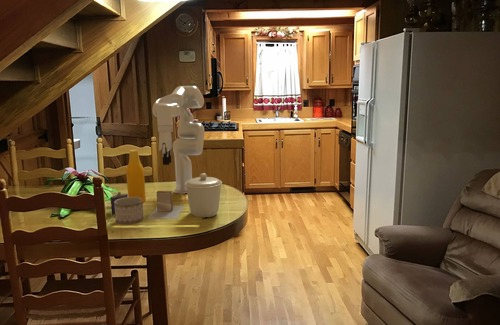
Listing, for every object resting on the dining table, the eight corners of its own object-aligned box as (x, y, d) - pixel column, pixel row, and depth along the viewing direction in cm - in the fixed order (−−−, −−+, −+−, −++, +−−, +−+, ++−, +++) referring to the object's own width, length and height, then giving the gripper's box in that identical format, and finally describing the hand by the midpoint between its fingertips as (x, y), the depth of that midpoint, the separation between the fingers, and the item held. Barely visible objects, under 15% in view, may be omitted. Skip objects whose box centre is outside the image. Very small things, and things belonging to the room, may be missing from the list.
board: (157, 207, 211) (157, 205, 211) (183, 207, 211) (183, 205, 211) (147, 220, 192) (147, 218, 191) (176, 220, 191) (176, 218, 191)
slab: (159, 209, 205) (157, 190, 203) (172, 209, 204) (171, 190, 202) (157, 211, 201) (156, 192, 199) (171, 211, 201) (170, 192, 199)
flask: (127, 209, 209) (125, 189, 207) (130, 210, 207) (128, 190, 205) (110, 214, 202) (109, 193, 200) (113, 215, 200) (112, 194, 198)
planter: (144, 224, 186) (142, 203, 184) (115, 227, 183) (113, 205, 181) (143, 216, 198) (142, 195, 196) (116, 218, 195) (114, 198, 193)
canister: (179, 218, 194) (177, 175, 190) (197, 207, 211) (195, 168, 207) (212, 222, 188) (211, 179, 184) (228, 211, 204) (227, 170, 200)
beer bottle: (128, 201, 223) (124, 149, 217) (145, 199, 226) (142, 148, 220) (128, 206, 214) (124, 152, 209) (146, 204, 217) (143, 151, 211)
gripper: (161, 126, 213) (163, 160, 217) (154, 130, 197) (156, 167, 200) (175, 126, 213) (177, 160, 217) (169, 130, 197) (171, 167, 200)
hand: (167, 163), depth 208 cm, fingers open, 4 cm apart
